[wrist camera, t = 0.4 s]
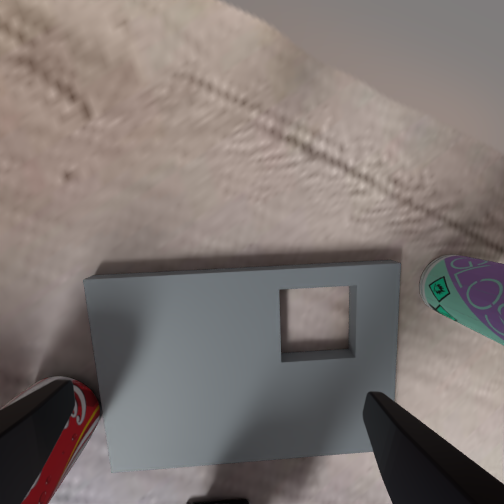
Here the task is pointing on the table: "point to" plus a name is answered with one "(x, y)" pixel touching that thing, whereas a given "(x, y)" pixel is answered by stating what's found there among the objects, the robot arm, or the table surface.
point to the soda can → (64, 440)
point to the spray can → (467, 293)
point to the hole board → (235, 364)
